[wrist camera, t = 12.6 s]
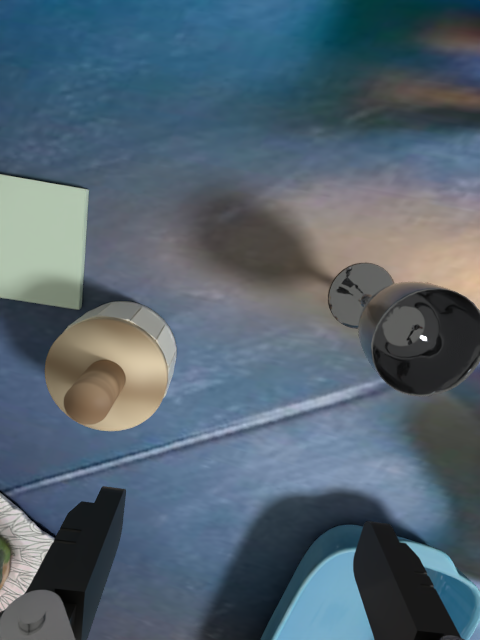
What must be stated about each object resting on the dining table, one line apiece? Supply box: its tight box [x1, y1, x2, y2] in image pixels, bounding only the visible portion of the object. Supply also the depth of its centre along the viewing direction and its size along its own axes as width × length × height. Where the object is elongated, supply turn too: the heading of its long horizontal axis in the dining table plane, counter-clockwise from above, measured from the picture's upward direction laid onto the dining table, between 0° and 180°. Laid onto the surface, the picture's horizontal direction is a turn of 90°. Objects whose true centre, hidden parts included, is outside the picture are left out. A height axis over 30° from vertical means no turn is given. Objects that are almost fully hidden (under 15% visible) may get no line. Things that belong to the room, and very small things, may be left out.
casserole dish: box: [260, 525, 480, 640], centre depth 51 cm, size 37×22×7 cm, turn 159°
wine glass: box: [329, 263, 480, 396], centre depth 35 cm, size 8×8×15 cm
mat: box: [0, 174, 89, 310], centre depth 39 cm, size 12×12×1 cm
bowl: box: [63, 301, 177, 398], centre depth 40 cm, size 11×11×6 cm
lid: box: [45, 317, 168, 431], centre depth 34 cm, size 11×11×6 cm
